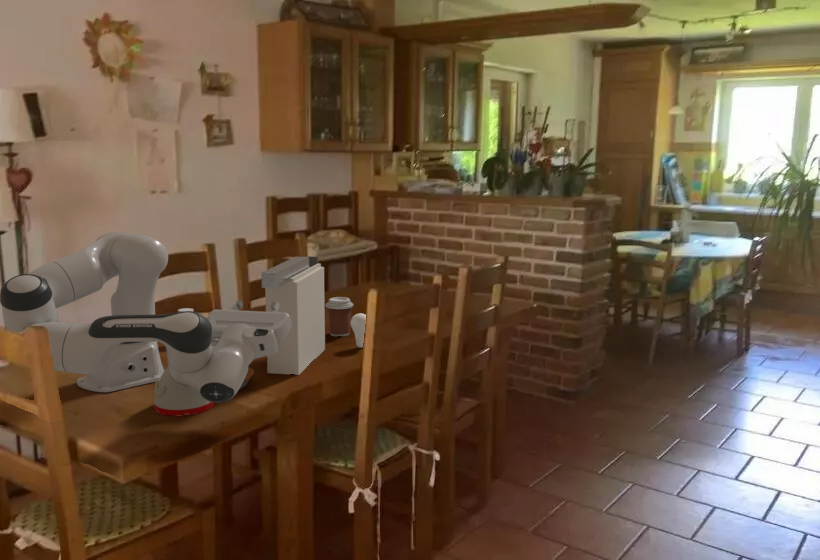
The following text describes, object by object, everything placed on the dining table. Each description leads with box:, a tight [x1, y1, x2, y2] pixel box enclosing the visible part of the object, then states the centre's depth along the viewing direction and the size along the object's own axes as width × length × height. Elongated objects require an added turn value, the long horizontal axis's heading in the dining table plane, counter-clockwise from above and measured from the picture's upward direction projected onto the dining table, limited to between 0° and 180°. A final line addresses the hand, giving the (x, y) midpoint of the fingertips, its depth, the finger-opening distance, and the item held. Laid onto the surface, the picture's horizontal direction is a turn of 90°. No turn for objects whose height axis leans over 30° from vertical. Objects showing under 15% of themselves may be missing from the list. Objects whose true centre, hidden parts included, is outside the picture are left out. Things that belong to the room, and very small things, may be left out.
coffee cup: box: [325, 296, 354, 337], centre depth 247 cm, size 9×9×12 cm
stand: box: [264, 255, 326, 376], centre depth 215 cm, size 27×9×29 cm, turn 170°
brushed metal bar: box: [261, 256, 309, 289], centre depth 204 cm, size 28×4×4 cm, turn 170°
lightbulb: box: [350, 312, 367, 349], centre depth 231 cm, size 6×6×11 cm
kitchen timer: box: [153, 366, 215, 417], centre depth 178 cm, size 14×14×15 cm
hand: (257, 302), depth 183 cm, fingers open, 8 cm apart
